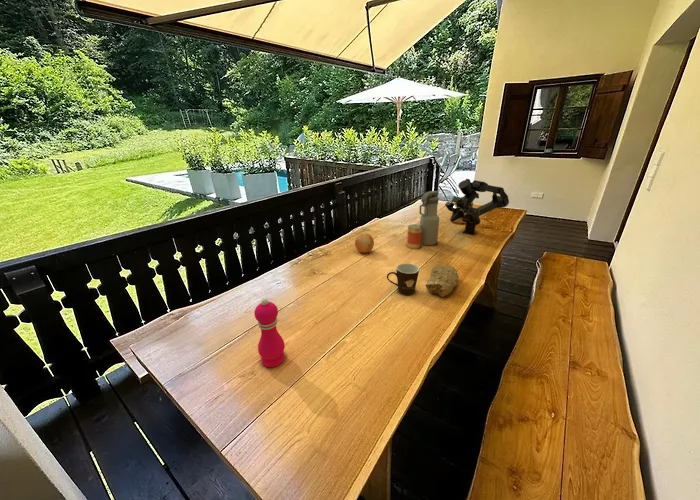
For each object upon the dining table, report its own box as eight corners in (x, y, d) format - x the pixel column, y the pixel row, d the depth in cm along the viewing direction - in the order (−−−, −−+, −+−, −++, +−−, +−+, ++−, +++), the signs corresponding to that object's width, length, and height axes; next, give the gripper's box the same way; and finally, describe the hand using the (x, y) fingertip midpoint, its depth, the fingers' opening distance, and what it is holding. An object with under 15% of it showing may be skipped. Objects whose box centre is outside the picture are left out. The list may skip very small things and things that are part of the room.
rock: (450, 303, 112) (468, 273, 124) (447, 286, 108) (466, 257, 121) (418, 297, 120) (438, 270, 133) (414, 281, 117) (435, 255, 130)
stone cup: (468, 225, 190) (471, 202, 184) (449, 223, 196) (452, 200, 190) (473, 219, 202) (476, 197, 196) (455, 217, 208) (457, 195, 202)
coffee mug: (418, 287, 120) (420, 265, 117) (415, 298, 113) (417, 274, 109) (390, 283, 124) (391, 261, 120) (385, 293, 117) (386, 270, 113)
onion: (364, 257, 148) (364, 238, 144) (350, 251, 155) (350, 233, 151) (377, 252, 154) (378, 233, 150) (364, 246, 161) (364, 229, 157)
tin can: (410, 242, 166) (411, 223, 161) (423, 245, 161) (424, 225, 157) (404, 246, 160) (405, 227, 156) (417, 249, 156) (418, 229, 152)
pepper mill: (262, 351, 88) (253, 292, 80) (287, 349, 89) (280, 290, 81) (257, 369, 81) (246, 307, 74) (284, 367, 82) (276, 305, 74)
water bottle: (425, 247, 159) (430, 194, 148) (414, 241, 167) (417, 191, 156) (440, 243, 163) (446, 192, 152) (429, 238, 171) (433, 189, 160)
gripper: (449, 187, 171) (432, 209, 171) (475, 193, 156) (457, 217, 156) (457, 199, 178) (441, 220, 177) (483, 206, 163) (466, 229, 162)
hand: (451, 221), depth 168 cm, fingers closed
